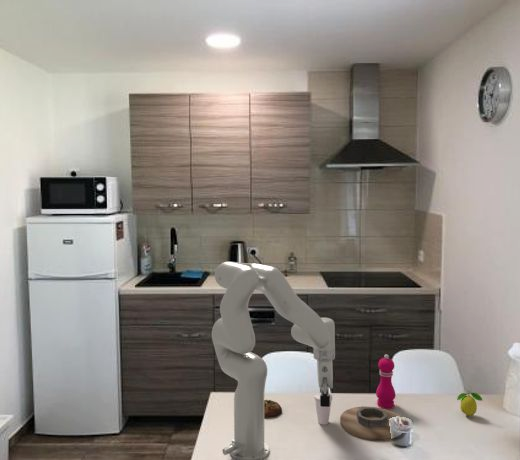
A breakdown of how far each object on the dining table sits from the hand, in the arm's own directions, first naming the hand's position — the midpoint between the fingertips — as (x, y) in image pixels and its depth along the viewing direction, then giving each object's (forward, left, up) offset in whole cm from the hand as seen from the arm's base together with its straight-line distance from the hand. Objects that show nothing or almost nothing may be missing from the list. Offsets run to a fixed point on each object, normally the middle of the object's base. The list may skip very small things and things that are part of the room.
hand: (324, 400), depth 172 cm
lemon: (+41, -34, -8) cm, 54 cm away
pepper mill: (+27, -8, -8) cm, 30 cm away
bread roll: (-9, +20, -9) cm, 24 cm away
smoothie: (-1, 0, -8) cm, 8 cm away
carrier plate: (+10, -13, -8) cm, 18 cm away
